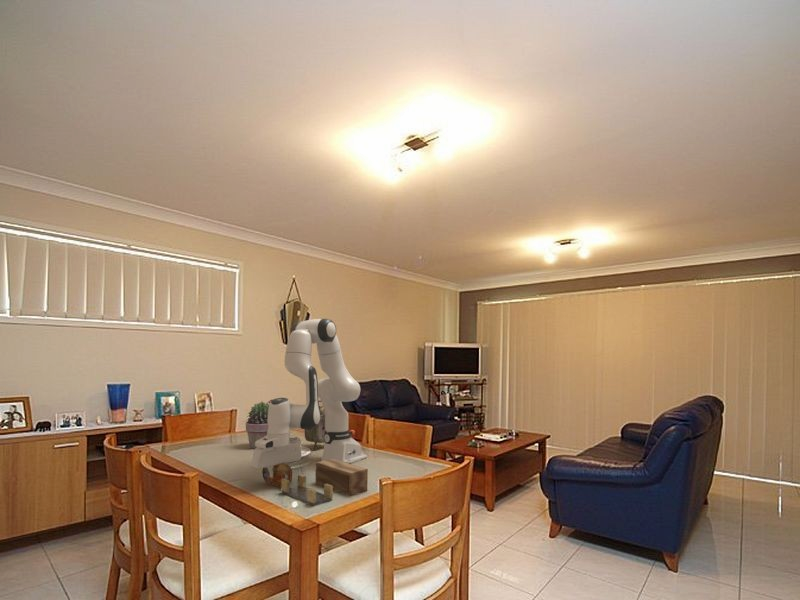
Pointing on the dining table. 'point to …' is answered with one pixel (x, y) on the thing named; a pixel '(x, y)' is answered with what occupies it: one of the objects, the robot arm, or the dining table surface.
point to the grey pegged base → (307, 492)
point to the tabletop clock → (317, 430)
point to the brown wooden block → (342, 476)
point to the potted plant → (257, 423)
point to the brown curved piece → (277, 474)
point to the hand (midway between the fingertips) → (277, 475)
